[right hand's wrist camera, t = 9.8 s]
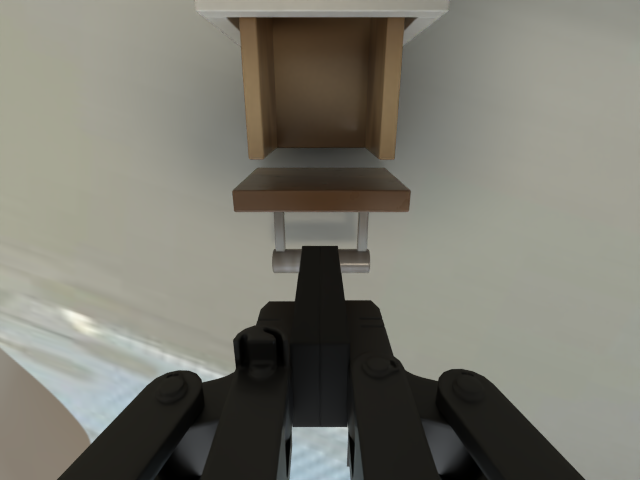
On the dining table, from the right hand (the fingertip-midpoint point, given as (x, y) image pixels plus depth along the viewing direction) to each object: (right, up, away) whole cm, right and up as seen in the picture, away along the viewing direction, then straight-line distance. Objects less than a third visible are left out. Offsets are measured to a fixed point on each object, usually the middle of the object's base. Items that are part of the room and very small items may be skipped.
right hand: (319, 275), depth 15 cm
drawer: (0, +10, +9) cm, 14 cm away
